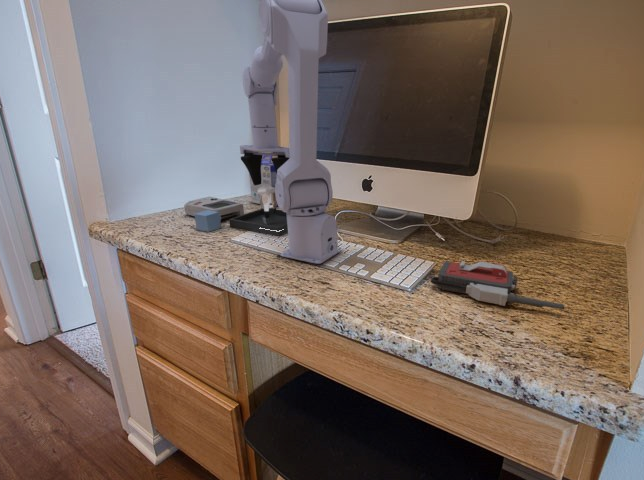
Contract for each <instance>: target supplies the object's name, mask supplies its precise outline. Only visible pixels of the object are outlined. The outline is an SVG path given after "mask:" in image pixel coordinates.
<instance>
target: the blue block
mask: <svg viewBox="0 0 644 480" xmlns="http://www.w3.org/2000/svg"><path fill="white" fill-rule="evenodd" d="M193 217H194V221H195V227H196V230H197V231H201V232H206V233H210V232H213V231H216V230H219V229H222V223H221V221H220V216H219V212H216V211H210V210H206V211H202V212H199V213H195V214H194V216H193Z"/></svg>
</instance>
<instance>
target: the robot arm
mask: <svg viewBox="0 0 644 480" xmlns="http://www.w3.org/2000/svg"><path fill="white" fill-rule="evenodd" d="M257 10H258V11H257V13H258V23H259V26H260V30H261V32H262V34H263V41H262V45H260V46H258V47H257V48H256V49H255V51H254V52H253V57H252V60H251V62H250V66H244V67H243V70H242V86H243V91H244V94H245V96H246V97H247V101H248V111H249V120H250V129H251V130H250V131H251V138H252V145H250V144H249V145H248V144H244V145H239V151H240V155H242V156H240V160H241V161H242V163H243V165H244V166H245V168H246V169H247V171H248V173H249V174H250V176H251V179H252V181H253V184H254V185H259V184H261V180H262V179H261V162H262V158H263V156H264V155H268V156H272V160H271V163H273V165H274V168H275V171H276V177H277V179H276V184H275V196H276V201H277V204H278V206H277V207H278V208H279V210H282V211H283V212H286V214H287V227H288V232H287V237H288V238H287V240H288V249H287V250H285V251H283V252H281V253H280V254H279V256H280V257H282V258H287V259H292V260H297V261H301V262H306V263H310V264H315V265H321V264H322V263H325V262H326V261H327V260H329V259H331V258H332V257H333V256H335V255H336V254H339V253H340V252H341V250H340V249H339V246H338V245H339V244H338V243H339V242H338V241H339V240H338V222H337V219H336V217H335V216H334V215H332V214H329V213H327V211H328V207H329V206H330V205H331V203H332V201H333V187H332V179H331V178H332V175H331V172H330V170H329V169H328V168H327V167H326V165H324V164H322V163H321V162H320V161H318V160H317V156H318V155H317V150H318V149H317V148H318V146H317V145H318V109H319V108H318V104H319V101H318V100H319V67H320V66H319V65H320V63H319V62H320V58H322V57H324V56H325V55H326V54H327V47H328V27H329V22H328V21H329V15H328V12H327V9H326V7H325V5H324V2H323V1H322V0H258V7H257ZM282 56H284V59H285V60H286V62H287V81H288V83H287V87H288V91H287V92H288V133H289V134H288V138H289V139H288V140H289V141H288V143H289V144H288V145H289V147H285V146H280V145H279V142H278V141H279V139H278V138H279V137H278V127H277V115H276V106H277V93H278V83H277V82H278V81H277V80H278V78H279V76H280V73H281V71H282V69H283V65H284V62H283V58H282ZM249 174H248V175H249ZM337 249H338V250H337Z"/></svg>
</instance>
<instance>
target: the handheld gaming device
mask: <svg viewBox="0 0 644 480" xmlns="http://www.w3.org/2000/svg"><path fill="white" fill-rule="evenodd" d="M183 207H184V212H185V213H184V214H186V215H189V216H192V217H195V216H194V214H195V213H199V212H202V211H206V210H210V211H216V212H219V216H220V222H221V221H222V220H223V219H226V218H230V217H235V216H234V215H236V216H241V215H244V214H245V212H244V211H245V209H244V204H243V203H242V202H239V201H232V200H228V199H222V198H218V197H213V196H205V197H200V198H197V199H193V200H189V201H188V202H186V203H185V204H184V205H183Z"/></svg>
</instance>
